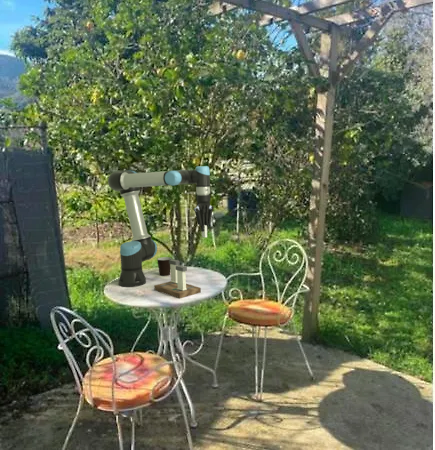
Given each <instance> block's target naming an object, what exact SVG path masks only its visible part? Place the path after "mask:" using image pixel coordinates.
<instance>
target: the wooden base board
mask: <svg viewBox="0 0 435 450" xmlns="http://www.w3.org/2000/svg"><path fill="white" fill-rule="evenodd" d="M177 288H178V283H174V282H170V281H167V282H163V283H158V284H155V285H154V286H153V290H154V291H156V292H159V293H162V294H165V295H168V296H172V297H174V298H177V299H182V298H186V297H190V296H193V295H198V294H200V293H201V289H202V288H201V287H199V286H195V285H192V284H188V283H186V289H187V290H184V291H182V290H179V289H177ZM201 294H202V293H201Z"/></svg>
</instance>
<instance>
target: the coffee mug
mask: <svg viewBox="0 0 435 450" xmlns="http://www.w3.org/2000/svg"><path fill="white" fill-rule="evenodd" d="M156 259H157V260H156V261H157V267H158V272H159V276H160V277H167V276H171V268H170V264H169V260H171V259H172V257H170V256H169V257H168V256H164V257H158V258H156Z"/></svg>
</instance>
